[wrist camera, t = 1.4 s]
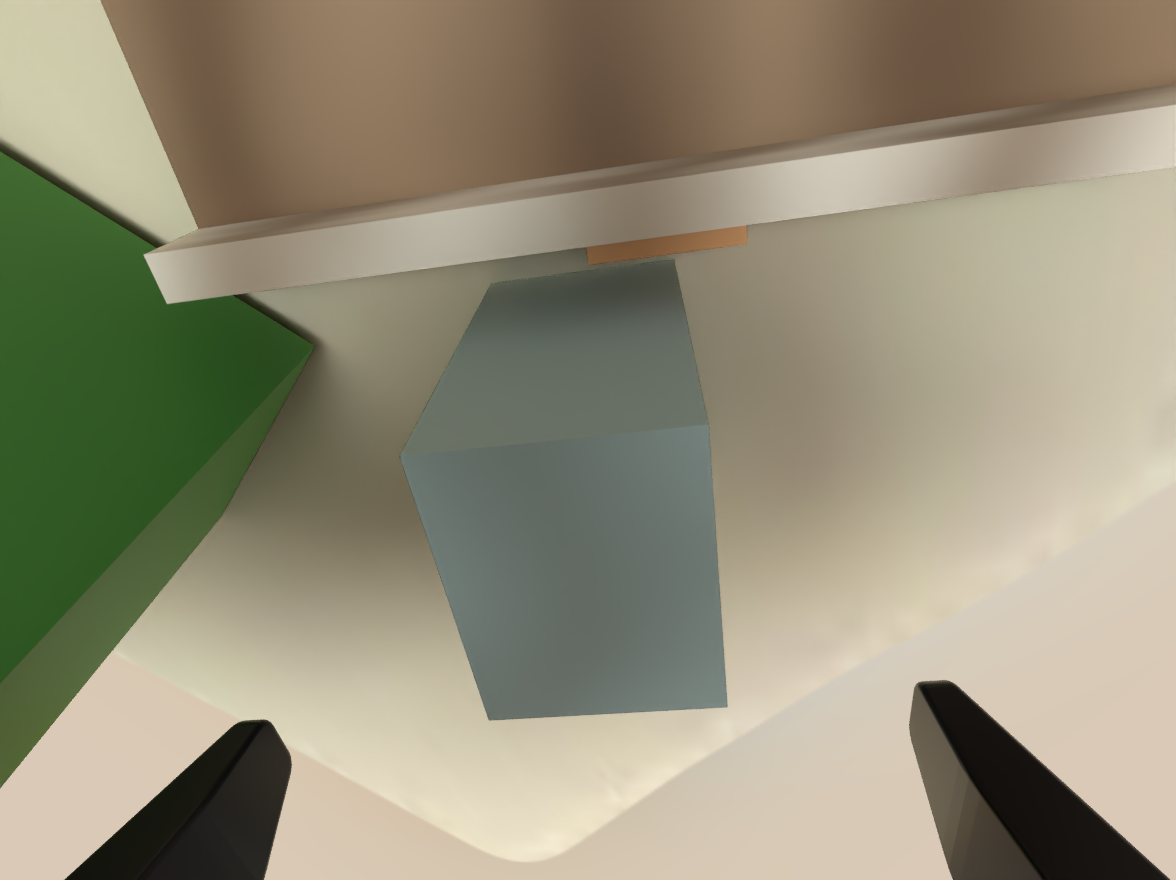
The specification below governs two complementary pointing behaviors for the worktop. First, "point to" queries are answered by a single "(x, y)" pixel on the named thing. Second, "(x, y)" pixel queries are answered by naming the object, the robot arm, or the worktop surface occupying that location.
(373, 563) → the worktop surface
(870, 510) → the worktop surface
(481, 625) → the product carton
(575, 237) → the shelf board
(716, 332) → the worktop surface
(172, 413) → the hardback book
